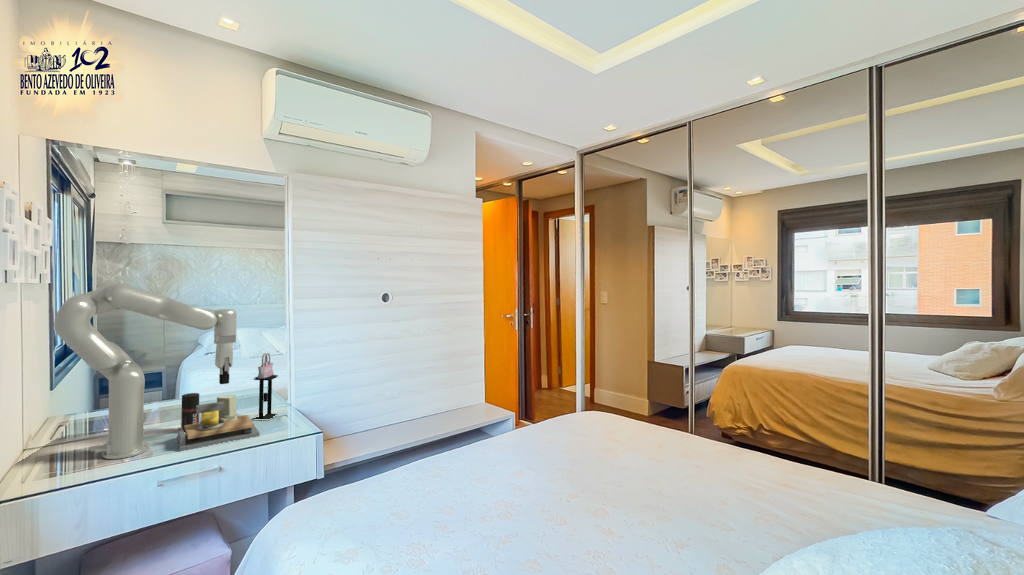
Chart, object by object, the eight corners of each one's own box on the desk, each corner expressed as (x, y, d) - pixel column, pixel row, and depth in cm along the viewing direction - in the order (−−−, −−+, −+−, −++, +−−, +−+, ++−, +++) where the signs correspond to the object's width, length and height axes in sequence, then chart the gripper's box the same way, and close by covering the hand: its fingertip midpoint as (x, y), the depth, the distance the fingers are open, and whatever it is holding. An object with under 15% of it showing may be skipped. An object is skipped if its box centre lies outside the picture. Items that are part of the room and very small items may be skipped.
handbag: (266, 421, 194) (268, 355, 193) (250, 421, 194) (251, 355, 193) (279, 414, 204) (280, 351, 203) (263, 413, 204) (265, 351, 203)
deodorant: (191, 433, 177) (192, 397, 177) (177, 432, 177) (178, 396, 177) (202, 428, 183) (202, 393, 183) (188, 427, 183) (189, 392, 183)
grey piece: (180, 451, 160) (180, 438, 160) (176, 439, 170) (177, 427, 170) (259, 436, 177) (259, 424, 177) (252, 426, 188) (252, 414, 188)
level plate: (187, 439, 161) (188, 412, 161) (184, 428, 172) (184, 403, 171) (254, 427, 176) (254, 402, 175) (246, 417, 186) (247, 394, 186)
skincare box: (236, 422, 192) (237, 395, 191) (229, 425, 187) (229, 398, 187) (223, 421, 192) (224, 394, 192) (215, 424, 188) (216, 397, 188)
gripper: (211, 337, 180) (210, 380, 181) (217, 342, 169) (216, 388, 169) (232, 336, 185) (231, 378, 186) (239, 341, 174) (238, 386, 174)
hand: (224, 383), depth 177 cm, fingers closed
